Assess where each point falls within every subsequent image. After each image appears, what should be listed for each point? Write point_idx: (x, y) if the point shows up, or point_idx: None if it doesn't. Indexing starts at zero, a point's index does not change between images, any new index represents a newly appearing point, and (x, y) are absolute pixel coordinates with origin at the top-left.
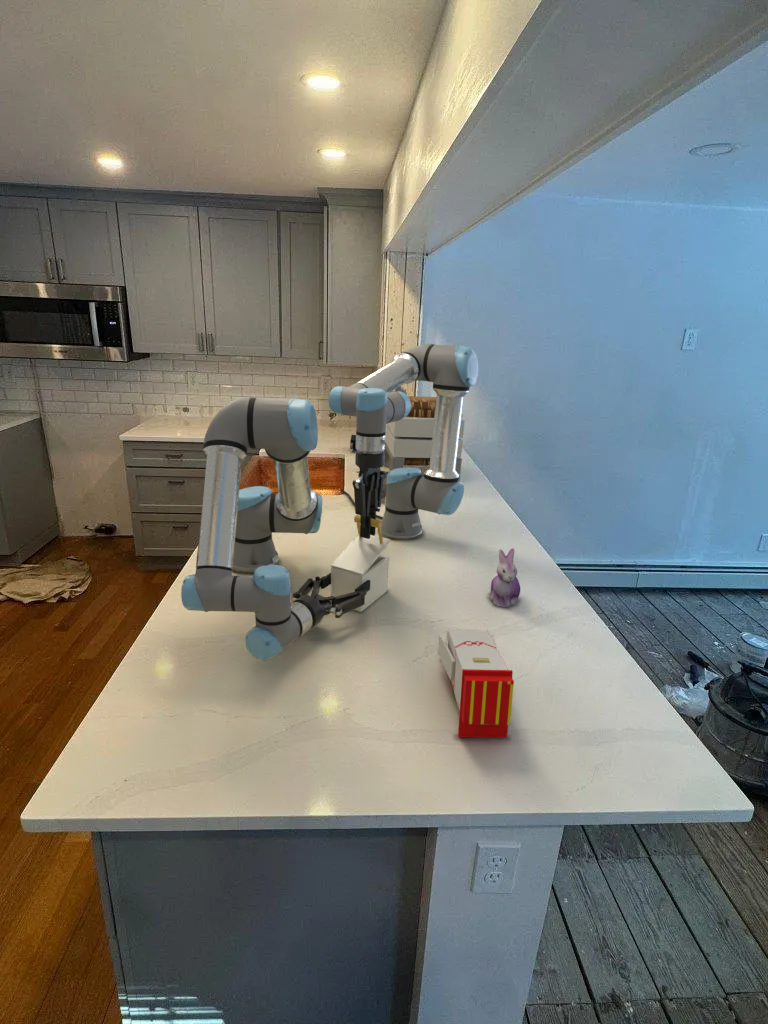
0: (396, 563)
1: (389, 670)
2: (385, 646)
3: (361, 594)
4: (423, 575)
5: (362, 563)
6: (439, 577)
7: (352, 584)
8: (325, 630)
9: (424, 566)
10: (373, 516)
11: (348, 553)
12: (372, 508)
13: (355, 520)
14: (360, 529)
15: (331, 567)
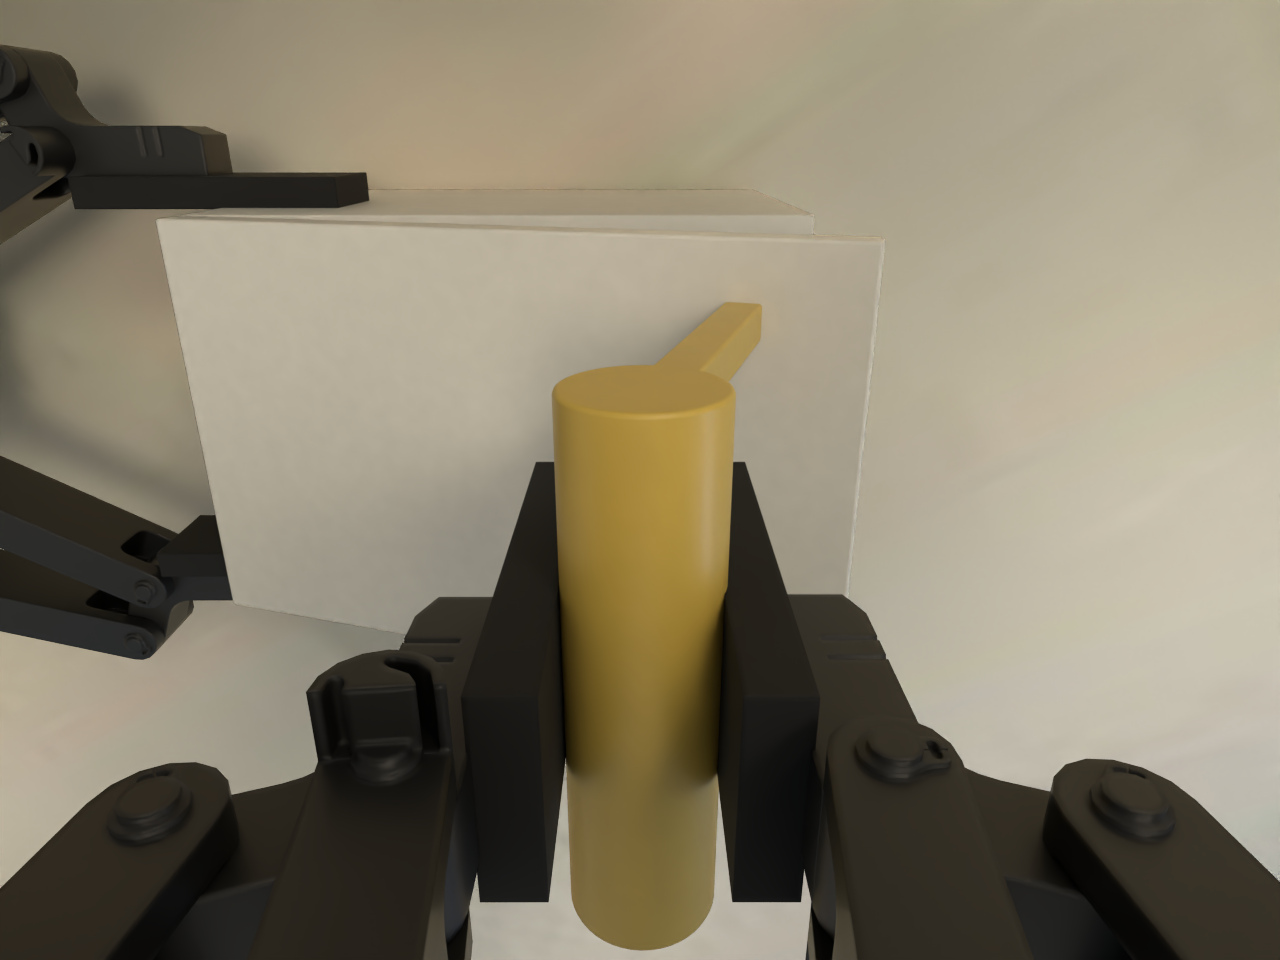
0: (1237, 286)
1: (12, 831)
2: (158, 736)
3: (140, 630)
4: (1095, 556)
5: (342, 553)
6: (1108, 652)
7: None
8: (15, 386)
9: (1257, 499)
10: (722, 810)
11: (398, 322)
12: (819, 890)
13: (553, 423)
14: (518, 519)
15: (186, 215)
